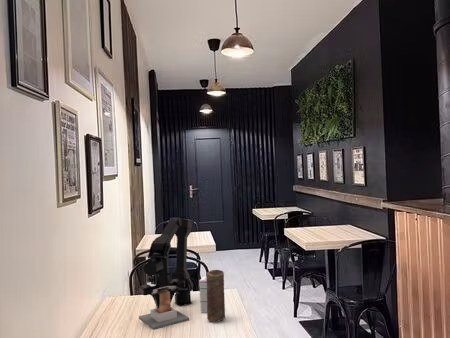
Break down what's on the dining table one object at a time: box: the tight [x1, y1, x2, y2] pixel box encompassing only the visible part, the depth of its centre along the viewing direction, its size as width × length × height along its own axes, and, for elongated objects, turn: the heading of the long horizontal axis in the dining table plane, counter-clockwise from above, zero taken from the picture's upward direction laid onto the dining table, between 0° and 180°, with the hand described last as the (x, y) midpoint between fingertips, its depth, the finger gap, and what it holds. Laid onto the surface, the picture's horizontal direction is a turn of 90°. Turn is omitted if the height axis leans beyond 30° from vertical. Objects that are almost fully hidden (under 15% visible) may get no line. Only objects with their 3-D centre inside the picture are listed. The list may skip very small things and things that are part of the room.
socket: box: [138, 306, 190, 330], centre depth 174 cm, size 16×16×4 cm
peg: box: [155, 289, 172, 313], centre depth 174 cm, size 4×4×9 cm
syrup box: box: [198, 276, 207, 314], centre depth 182 cm, size 6×6×14 cm
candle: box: [206, 269, 226, 323], centre depth 170 cm, size 8×7×20 cm
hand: (163, 306), depth 174 cm, fingers closed on peg, 4 cm apart
